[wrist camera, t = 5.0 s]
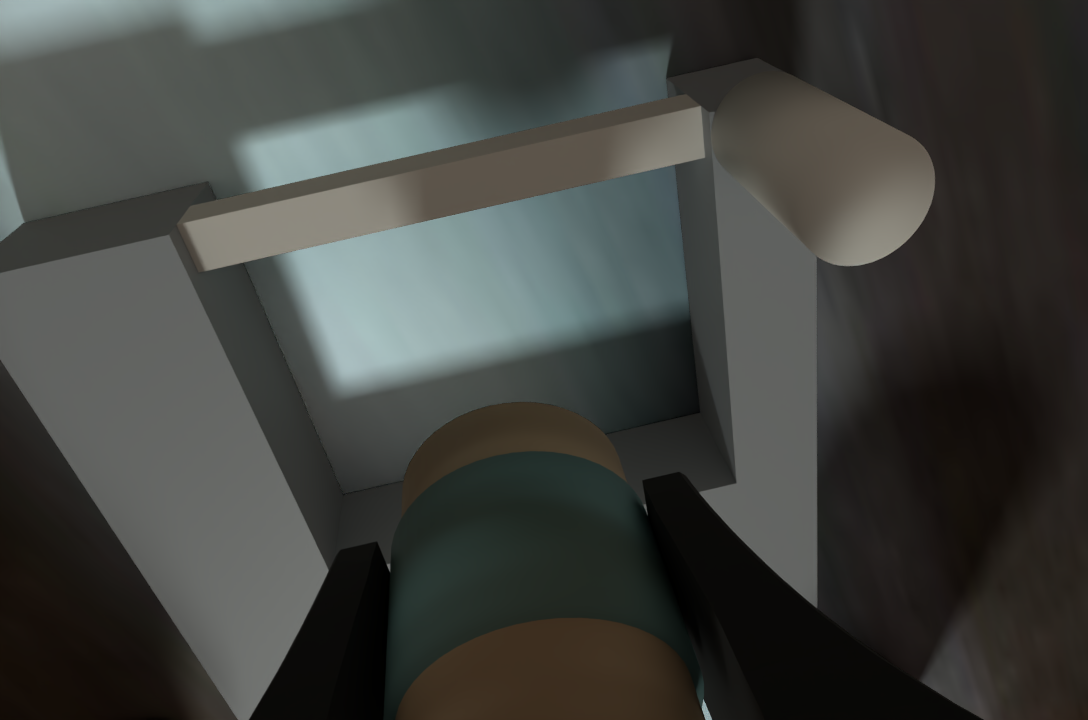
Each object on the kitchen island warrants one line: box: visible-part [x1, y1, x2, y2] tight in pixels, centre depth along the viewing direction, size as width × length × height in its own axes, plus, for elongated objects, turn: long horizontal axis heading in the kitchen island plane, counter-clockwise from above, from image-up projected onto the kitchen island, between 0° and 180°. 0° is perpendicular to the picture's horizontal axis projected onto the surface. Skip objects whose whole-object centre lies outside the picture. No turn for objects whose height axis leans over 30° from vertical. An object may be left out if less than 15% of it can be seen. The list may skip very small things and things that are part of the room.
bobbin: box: [383, 402, 705, 720], centre depth 12 cm, size 4×4×6 cm
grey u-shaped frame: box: [0, 58, 935, 720], centre depth 18 cm, size 16×16×7 cm
